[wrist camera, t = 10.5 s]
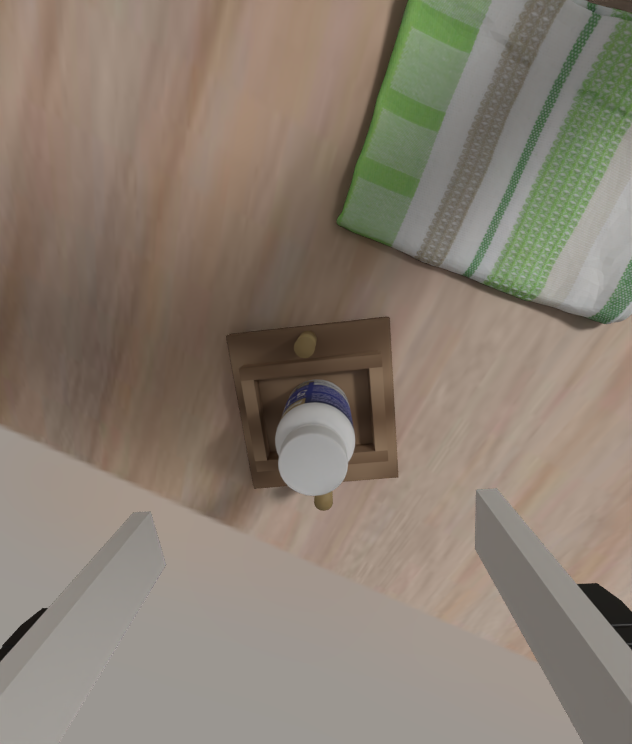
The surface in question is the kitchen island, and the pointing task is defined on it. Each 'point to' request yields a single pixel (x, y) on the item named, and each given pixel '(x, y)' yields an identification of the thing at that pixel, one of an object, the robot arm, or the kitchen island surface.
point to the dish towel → (507, 150)
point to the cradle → (325, 362)
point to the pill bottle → (315, 438)
